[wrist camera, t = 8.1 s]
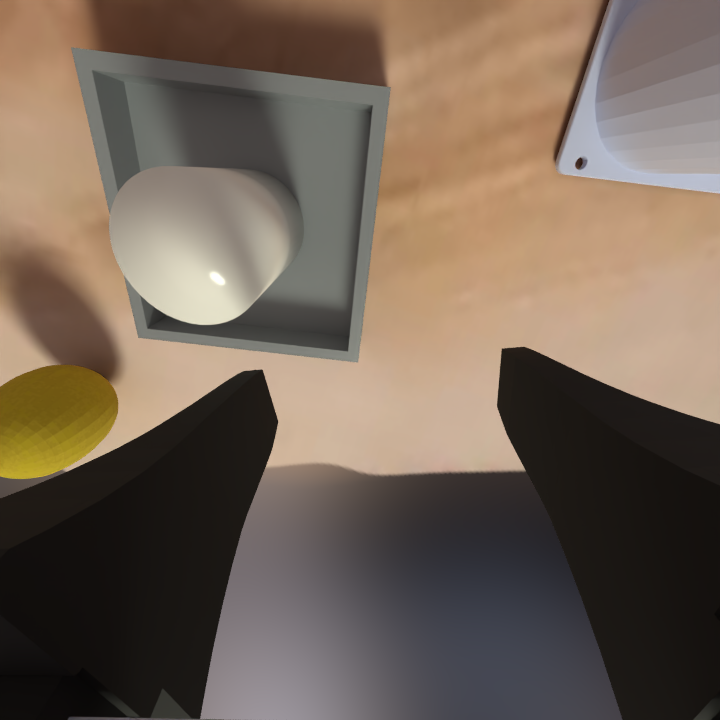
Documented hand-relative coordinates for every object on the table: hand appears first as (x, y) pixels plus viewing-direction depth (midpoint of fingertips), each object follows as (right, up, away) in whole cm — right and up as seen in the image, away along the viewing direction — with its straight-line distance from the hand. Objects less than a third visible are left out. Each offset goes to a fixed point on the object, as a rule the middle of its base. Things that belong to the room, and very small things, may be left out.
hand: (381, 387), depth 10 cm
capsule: (-6, +8, +7) cm, 12 cm away
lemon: (-18, 0, +13) cm, 22 cm away
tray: (-6, +8, +7) cm, 12 cm away
